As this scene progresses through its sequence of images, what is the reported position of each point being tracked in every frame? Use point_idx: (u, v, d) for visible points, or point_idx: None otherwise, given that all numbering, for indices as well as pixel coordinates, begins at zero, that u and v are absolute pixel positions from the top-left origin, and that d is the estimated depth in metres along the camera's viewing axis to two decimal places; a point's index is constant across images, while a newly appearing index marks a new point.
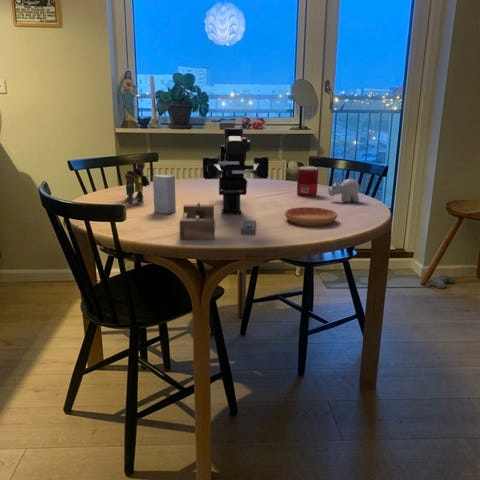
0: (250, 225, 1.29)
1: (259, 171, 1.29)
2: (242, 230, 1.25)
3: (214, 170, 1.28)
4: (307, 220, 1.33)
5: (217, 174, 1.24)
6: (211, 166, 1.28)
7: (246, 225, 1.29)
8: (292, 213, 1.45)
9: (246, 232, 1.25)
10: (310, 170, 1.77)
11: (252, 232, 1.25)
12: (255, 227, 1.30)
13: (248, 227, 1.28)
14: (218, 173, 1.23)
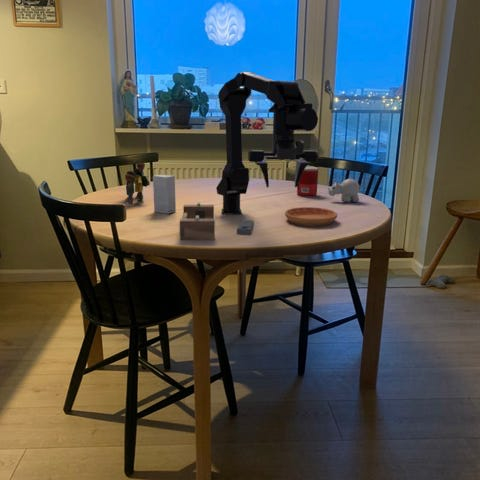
0: (247, 225, 1.29)
1: None
2: (238, 230, 1.25)
3: None
4: (307, 220, 1.33)
5: (264, 179, 1.27)
6: None
7: (243, 225, 1.29)
8: (292, 213, 1.45)
9: (242, 232, 1.25)
10: (310, 170, 1.77)
11: (248, 232, 1.25)
12: (252, 227, 1.30)
13: (244, 227, 1.28)
14: None
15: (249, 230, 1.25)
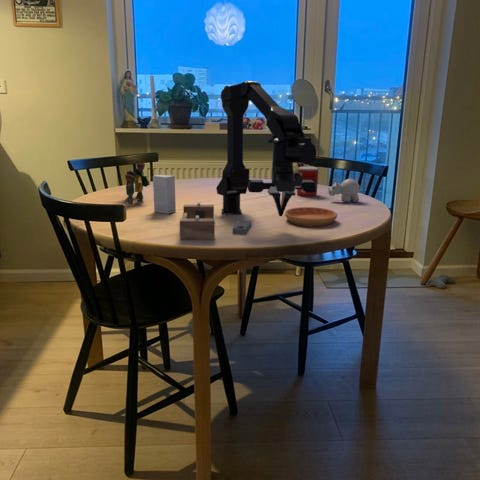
0: (243, 225, 1.29)
1: None
2: (233, 230, 1.26)
3: None
4: (307, 220, 1.33)
5: None
6: None
7: (239, 225, 1.29)
8: (292, 213, 1.45)
9: (237, 232, 1.25)
10: (310, 170, 1.77)
11: (243, 232, 1.25)
12: (248, 227, 1.30)
13: (241, 227, 1.28)
14: (278, 212, 1.30)
15: (244, 230, 1.25)
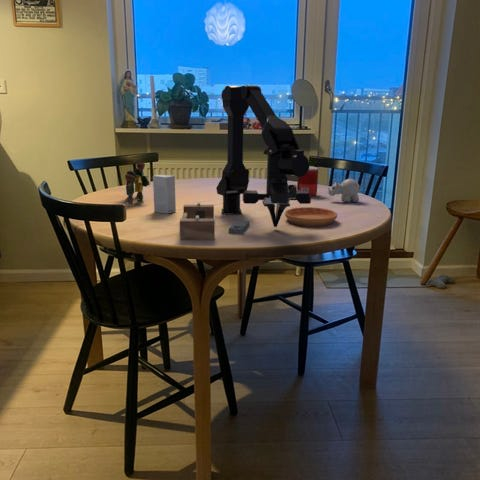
0: (240, 225, 1.29)
1: None
2: (229, 229, 1.26)
3: None
4: (307, 220, 1.33)
5: None
6: None
7: (236, 225, 1.29)
8: (292, 213, 1.45)
9: (233, 231, 1.26)
10: (310, 170, 1.77)
11: (239, 232, 1.25)
12: (245, 227, 1.30)
13: (237, 227, 1.28)
14: None
15: (240, 230, 1.25)
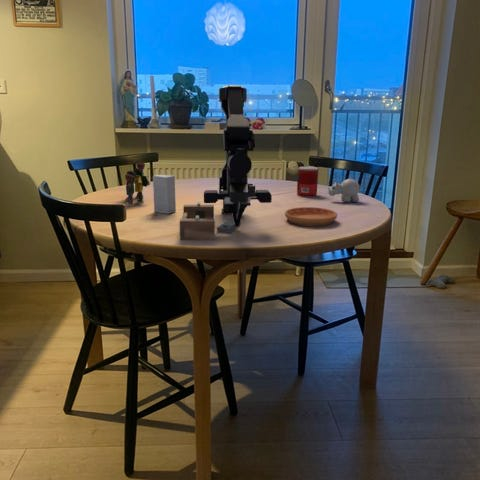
0: (229, 224, 1.30)
1: None
2: (218, 228, 1.27)
3: None
4: (307, 220, 1.33)
5: None
6: None
7: (225, 224, 1.30)
8: (292, 213, 1.45)
9: (221, 231, 1.26)
10: (310, 170, 1.77)
11: (227, 231, 1.26)
12: (235, 226, 1.30)
13: (226, 226, 1.29)
14: None
15: (228, 229, 1.26)
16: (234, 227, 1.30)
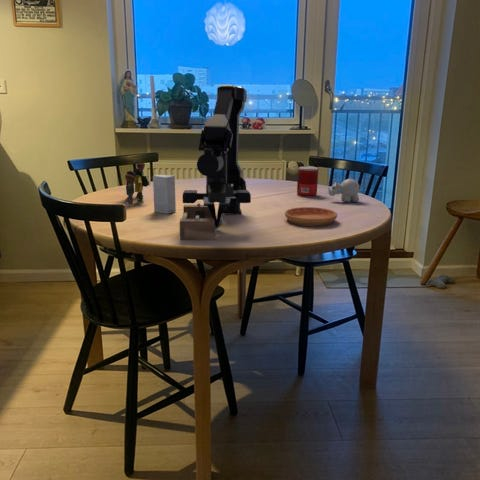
0: None
1: None
2: None
3: None
4: (307, 220, 1.33)
5: None
6: None
7: None
8: (292, 213, 1.45)
9: None
10: (310, 170, 1.77)
11: None
12: None
13: None
14: None
15: None
16: None
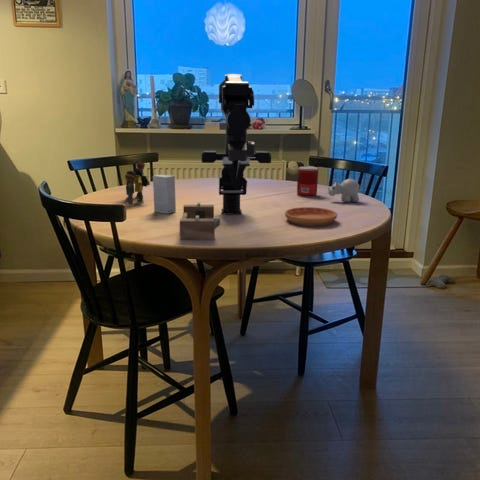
0: None
1: None
2: None
3: None
4: (307, 220, 1.33)
5: None
6: None
7: None
8: (292, 213, 1.45)
9: None
10: (310, 170, 1.77)
11: None
12: None
13: None
14: (233, 184, 1.27)
15: None
16: None
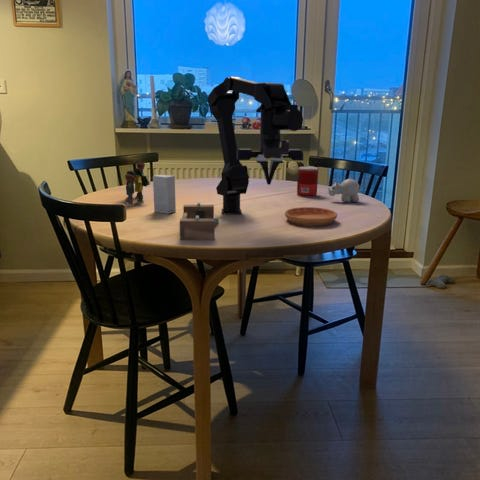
0: None
1: None
2: None
3: None
4: (307, 220, 1.33)
5: (265, 176, 1.33)
6: None
7: None
8: (292, 213, 1.45)
9: None
10: (310, 170, 1.77)
11: None
12: None
13: None
14: (266, 180, 1.33)
15: None
16: None
